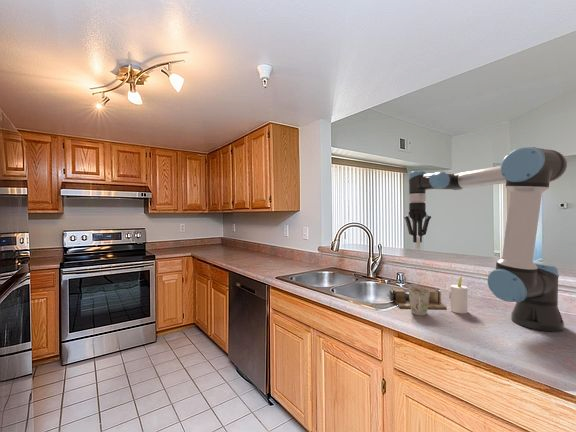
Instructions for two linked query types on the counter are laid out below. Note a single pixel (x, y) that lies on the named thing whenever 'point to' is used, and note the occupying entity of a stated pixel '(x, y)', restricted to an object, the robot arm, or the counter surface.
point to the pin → (392, 295)
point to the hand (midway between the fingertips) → (417, 249)
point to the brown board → (400, 299)
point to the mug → (419, 300)
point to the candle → (458, 298)
